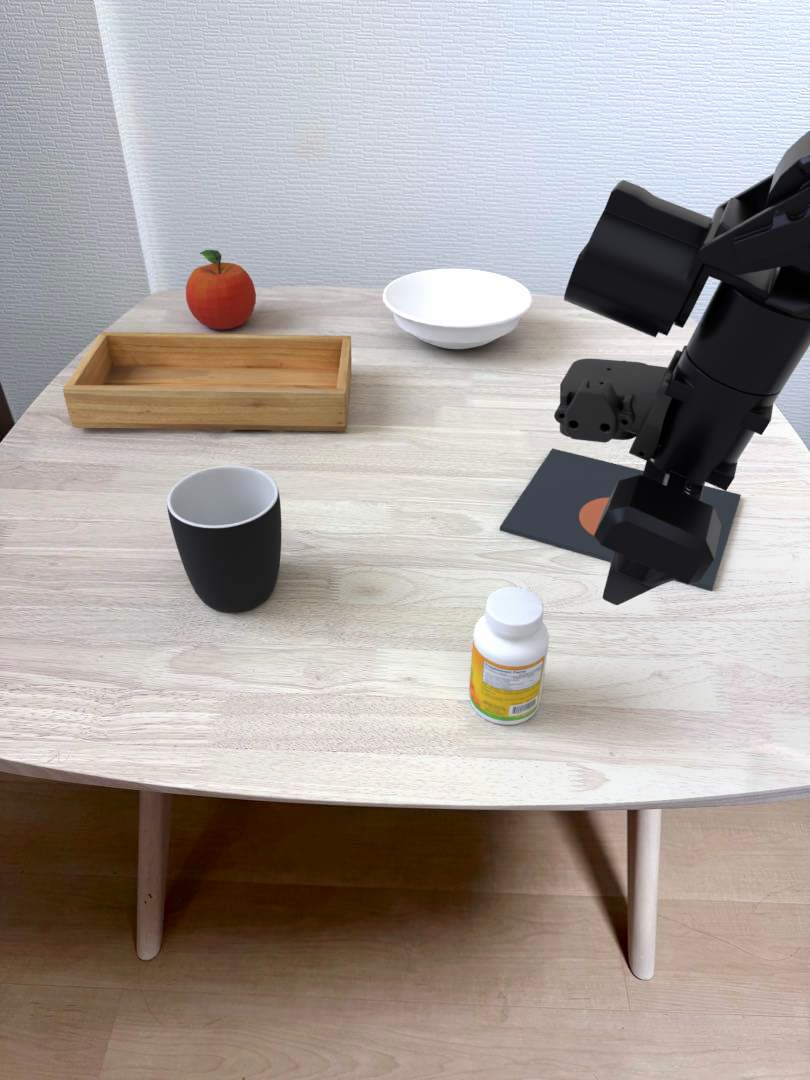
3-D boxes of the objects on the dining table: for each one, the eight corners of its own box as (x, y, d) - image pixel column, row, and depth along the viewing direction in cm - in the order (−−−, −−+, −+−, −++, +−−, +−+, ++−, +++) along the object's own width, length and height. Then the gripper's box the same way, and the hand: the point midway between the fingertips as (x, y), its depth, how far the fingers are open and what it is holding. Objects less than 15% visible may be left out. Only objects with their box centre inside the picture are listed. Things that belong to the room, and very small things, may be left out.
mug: (309, 588, 75) (301, 493, 68) (227, 640, 69) (210, 542, 63) (226, 531, 81) (212, 440, 75) (145, 574, 76) (123, 480, 70)
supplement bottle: (481, 665, 67) (489, 572, 61) (547, 685, 66) (562, 591, 60) (458, 714, 63) (465, 619, 57) (528, 736, 62) (542, 640, 56)
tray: (352, 373, 108) (350, 331, 104) (346, 435, 96) (345, 389, 92) (109, 373, 107) (100, 330, 104) (73, 434, 95) (61, 389, 92)
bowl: (397, 378, 107) (398, 330, 103) (371, 316, 122) (371, 272, 118) (547, 365, 110) (553, 318, 106) (504, 306, 125) (507, 263, 121)
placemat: (739, 498, 86) (741, 493, 86) (711, 591, 75) (713, 586, 74) (551, 451, 93) (552, 447, 93) (499, 530, 82) (500, 525, 81)
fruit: (213, 344, 114) (203, 271, 108) (178, 322, 120) (166, 252, 114) (272, 326, 119) (266, 255, 113) (236, 305, 125) (228, 237, 119)
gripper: (631, 259, 56) (551, 446, 66) (560, 380, 42) (472, 591, 52) (795, 324, 54) (685, 505, 64) (776, 472, 40) (641, 671, 51)
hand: (623, 559), depth 58 cm, fingers open, 9 cm apart
